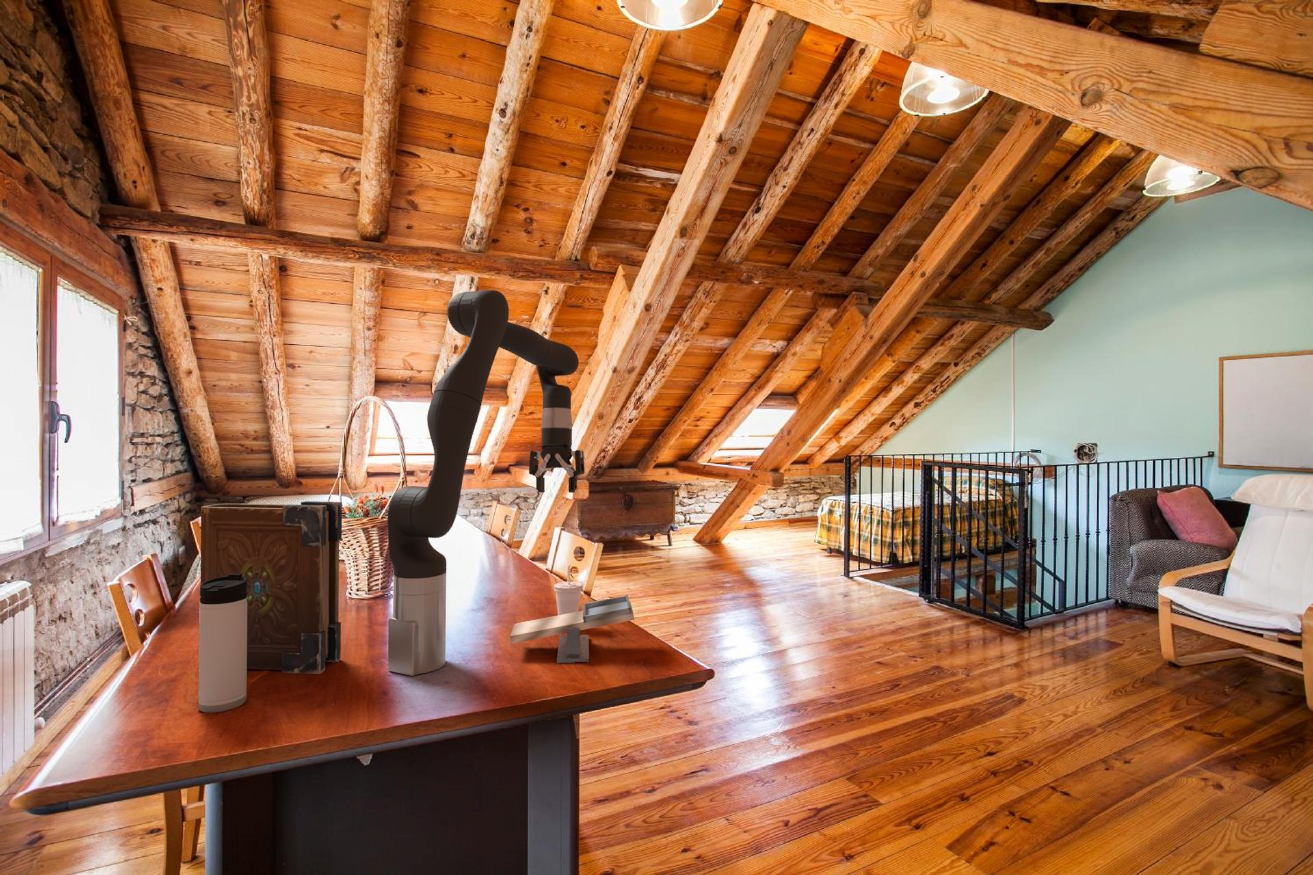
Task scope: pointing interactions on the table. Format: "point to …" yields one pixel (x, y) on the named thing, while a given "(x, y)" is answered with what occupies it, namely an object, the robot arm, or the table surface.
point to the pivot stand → (573, 647)
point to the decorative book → (281, 578)
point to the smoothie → (568, 595)
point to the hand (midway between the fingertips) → (556, 492)
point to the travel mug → (222, 643)
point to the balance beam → (575, 619)
